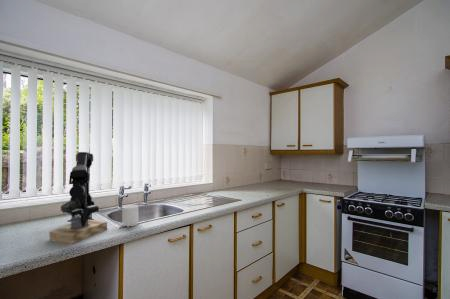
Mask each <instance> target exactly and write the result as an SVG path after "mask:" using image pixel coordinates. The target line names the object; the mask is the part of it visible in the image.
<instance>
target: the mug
mask: <svg viewBox="0 0 450 299" xmlns="http://www.w3.org/2000/svg"><path fill="white" fill-rule="evenodd" d="M121 210H122V213H121V214H122V217H121V218H122V219H121V220H122V223H121V224H122V226H123V227H125V226H127V228H130V227H129V226H132V227H134V226H135V227H136V226H137V225H138V224H139V205H138V204H127V205H123V206H122V209H121Z"/></svg>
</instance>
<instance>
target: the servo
mask: <svg viewBox="0 0 450 299" xmlns="http://www.w3.org/2000/svg"><path fill="white" fill-rule="evenodd" d="M89 217H91V215H90V216H89ZM67 222H69V223H71V224H70V225H71V229H81V228H83V227H86V226H88V220H87V222H86V224H85V225H84V226H82V222H81V216H80V215H75V216H74V217H72V216H71V218H70V219H68V220H67Z"/></svg>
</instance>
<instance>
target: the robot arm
mask: <svg viewBox="0 0 450 299" xmlns="http://www.w3.org/2000/svg"><path fill="white" fill-rule="evenodd" d="M75 162H76V165H75V166H73V167H72V170H71V171H70V172H69V173H70V174H69V179H68V185H72V187H70V189H69V193H68V194H69V195H70V200H69V201H67V202H66V203H64V204H62V205H61V206H60V211H61V212H62V213H63V214H65V213H66V214H69V215H70V216H71V217H74V216H75V215H80V216H81V222H82V226H84V225H85V224H86V222H87V220H95V219H94V218H93V213H97V212H100V209H99V208H100V207H99V206H98V205H95V201H94V200H93V197H92V195H91V194H90V175H91V173H90V168H91V167H92V165H93V162H94V154H93V153H90V152H88V151H79V152H77V153H76V154H75ZM90 215H91V217H89V216H90Z"/></svg>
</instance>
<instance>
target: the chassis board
mask: <svg viewBox="0 0 450 299" xmlns="http://www.w3.org/2000/svg"><path fill="white" fill-rule="evenodd" d="M106 230H108V221H103V220H97V219H94V220H88V226H86V227H83V228H81V229H71V224H67V225H66V226H63V227H60V228H57V229H54V230H50V231H49V241H53V242H59V243H63V244H70V245H73V244H75V243H78V242H80V241H82V240H85V239H87V238H89V237H92V236H94V235H97V234H100V233H102V232H104V231H106Z"/></svg>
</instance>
